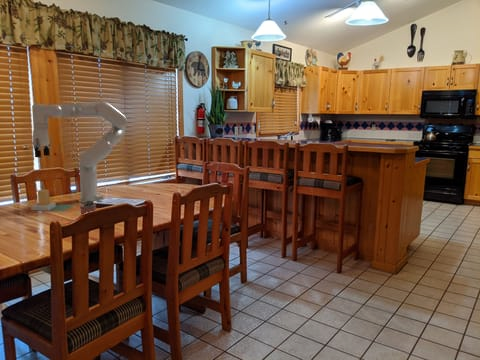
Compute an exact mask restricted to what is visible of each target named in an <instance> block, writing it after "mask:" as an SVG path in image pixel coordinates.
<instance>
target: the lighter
mask: <svg viewBox="0 0 480 360" xmlns="http://www.w3.org/2000/svg"><path fill="white" fill-rule="evenodd" d="M96 206H97V204H95V202H94V201H93V200H92V201H89V200H87V201H83V202H81V206H80V207H79V208H80V215H81V214H84V213H86V212H90V211H94V210H96V211H97V207H96Z"/></svg>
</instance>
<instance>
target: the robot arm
mask: <svg viewBox="0 0 480 360" xmlns="http://www.w3.org/2000/svg"><path fill="white" fill-rule="evenodd" d="M31 106H32V107H31V111H32V113H31V114H32V128H33V129H32V130H33V131H32V146H33V150H34V157H35V158H41V157H42V151H41V148H42V147H43V156H47V157H48V156H49V157H50V154H51V152H50V146H51V140H50V136H49V135H50V134H49V118H53V119H57V118H72V117H73V118H89V117H102V118H104V119H105V120H106V121H107V122H108V123H110V124H111V128H110V129H109V130H108V131H107V132H106V133H105V134H104V135H102V136H101V137H100V138H98V139H97V140H95V142H94V144H92V146H90V147H89V148H88V149H86V150H85V149H84V150H83V151H81V153H79V156H78V162H79V180H80V181H79V182H80V184H79V186H80V199H78V200H77V201H78V202H79V203H82V202H83V201H87V200H89V201H92V200H93V201H94V203H97V202H100V201H101V200H105V196H104V195H100V193H98V171H97V170H98V169H97V165H98V163H100V162H101V161H103V160H104V159H105V158H106V157H108V155H109V154H110V153H111V152H112V150H113V147H114V146H115V145H117V144H118V143H119V142H120V141H121V140H122V139H123V138H124V136H125V134H126V130H127V127H126V126H127V125H128V117H126V116H125V115H124V114H123V113H121V112H120V111H119V110H118V109H116V108H115V107H114V106H113V105H111V104H110V103H109V102H107V101H105V100H104V101H88V102H87V101H86V102H85V101H84V102H75V103H67V104H56V103H55V104H42V103H35V104H32V105H31Z"/></svg>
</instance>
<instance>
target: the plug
mask: <svg viewBox="0 0 480 360" xmlns="http://www.w3.org/2000/svg"><path fill="white" fill-rule="evenodd" d="M37 200H38V201H37V203H38V204H39V205H48V204H50V202H51V201H50V190H49V189H38V190H37Z"/></svg>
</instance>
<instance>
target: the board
mask: <svg viewBox="0 0 480 360" xmlns="http://www.w3.org/2000/svg"><path fill="white" fill-rule="evenodd" d="M49 202H50V204H48V205H39V204H38V202H36V203H33V204H32V205H30V210H31V211H36V212H37V211H38V212H39V211H40V212H65V211H68V209H71V208H72V207H74V206H75V204H74V205H73V204H56V202H54V201H53V202H51V201H49Z"/></svg>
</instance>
